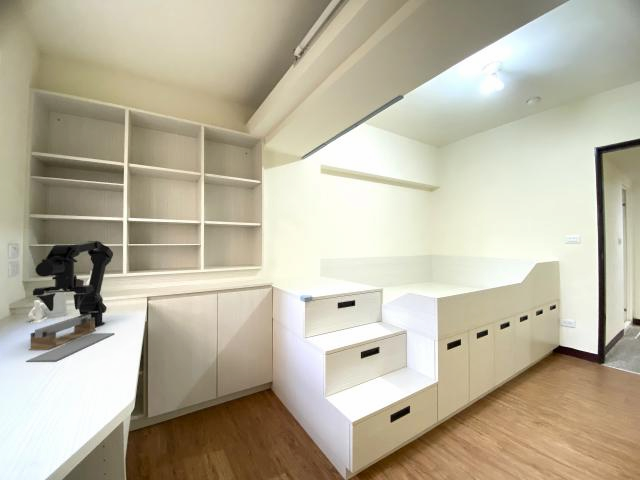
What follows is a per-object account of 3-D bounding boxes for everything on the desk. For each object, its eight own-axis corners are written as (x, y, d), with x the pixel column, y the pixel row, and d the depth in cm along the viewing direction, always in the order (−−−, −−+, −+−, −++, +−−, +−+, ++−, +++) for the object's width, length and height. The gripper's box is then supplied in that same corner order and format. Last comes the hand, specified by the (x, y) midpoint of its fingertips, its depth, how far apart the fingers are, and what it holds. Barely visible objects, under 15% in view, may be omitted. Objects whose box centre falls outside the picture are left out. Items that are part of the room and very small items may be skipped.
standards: (80, 331, 117) (80, 317, 118) (95, 330, 118) (95, 317, 118) (28, 351, 96) (28, 334, 96) (48, 350, 96) (48, 333, 96)
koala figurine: (45, 323, 130) (45, 300, 130) (25, 326, 125) (25, 302, 126) (48, 319, 136) (48, 297, 136) (30, 322, 132) (30, 299, 132)
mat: (114, 334, 113) (114, 333, 113) (56, 361, 87) (56, 360, 87) (91, 334, 113) (91, 333, 113) (26, 362, 87) (26, 360, 87)
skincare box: (66, 314, 145) (66, 289, 145) (65, 317, 140) (65, 290, 140) (45, 317, 139) (45, 291, 140) (43, 320, 135) (43, 292, 135)
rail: (84, 320, 118) (85, 314, 118) (91, 320, 118) (91, 313, 118) (34, 337, 96) (34, 330, 96) (42, 337, 96) (42, 329, 96)
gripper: (101, 271, 117) (101, 304, 117) (54, 272, 113) (53, 306, 113) (85, 273, 106) (84, 310, 106) (31, 275, 102) (31, 313, 102)
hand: (64, 310), depth 107 cm, fingers open, 9 cm apart
